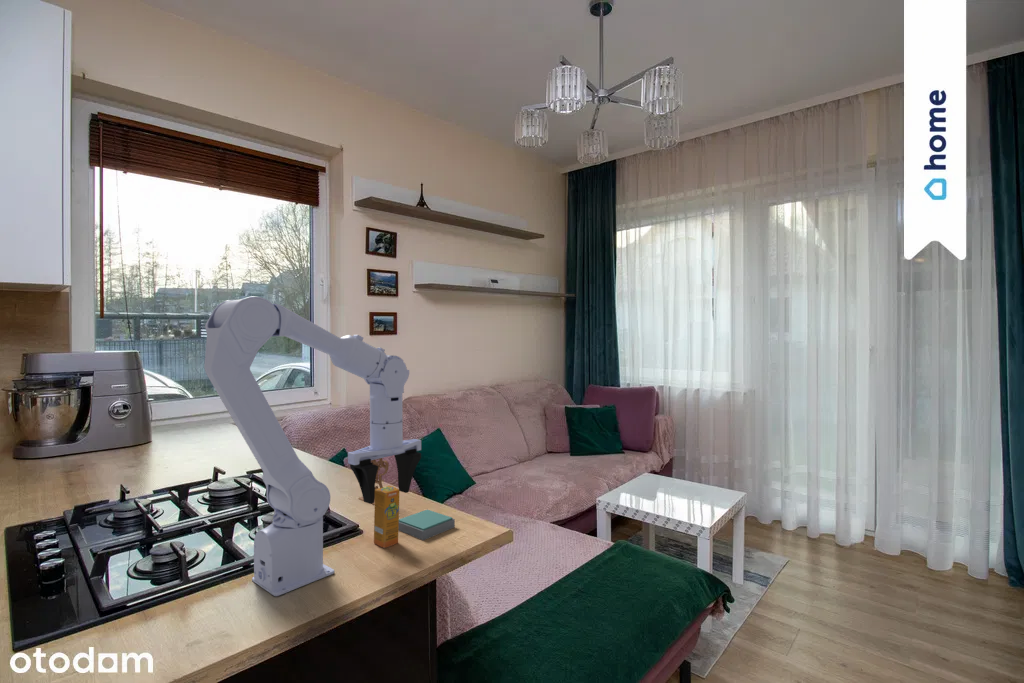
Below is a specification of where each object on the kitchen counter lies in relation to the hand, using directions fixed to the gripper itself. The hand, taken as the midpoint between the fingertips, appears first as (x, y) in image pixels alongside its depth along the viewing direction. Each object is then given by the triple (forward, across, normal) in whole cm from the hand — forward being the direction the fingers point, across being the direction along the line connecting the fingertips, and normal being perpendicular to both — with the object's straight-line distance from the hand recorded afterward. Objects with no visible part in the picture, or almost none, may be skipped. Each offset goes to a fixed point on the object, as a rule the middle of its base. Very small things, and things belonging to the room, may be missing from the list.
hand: (387, 496), depth 90 cm
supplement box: (+9, 0, 0) cm, 9 cm away
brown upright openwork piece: (+9, +12, +20) cm, 25 cm away
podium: (+8, +9, 0) cm, 12 cm away
